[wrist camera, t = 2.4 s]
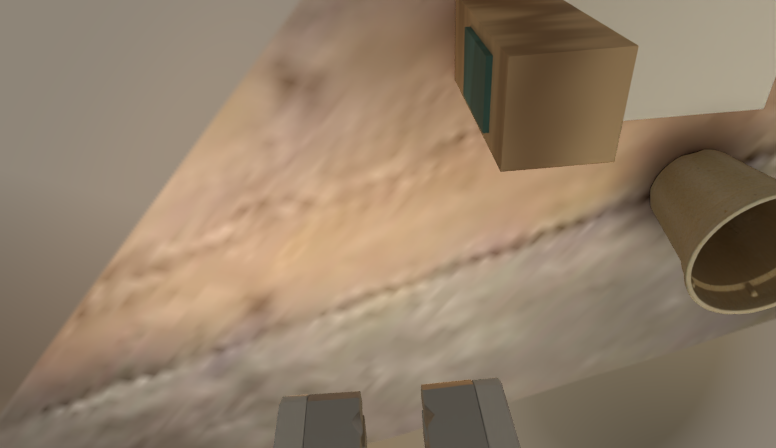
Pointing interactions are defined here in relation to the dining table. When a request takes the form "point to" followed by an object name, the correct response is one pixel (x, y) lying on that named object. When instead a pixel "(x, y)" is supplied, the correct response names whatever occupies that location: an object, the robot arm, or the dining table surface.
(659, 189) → the flower pot
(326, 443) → the robot arm
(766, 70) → the white board
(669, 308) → the dining table surface
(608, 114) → the oak block
